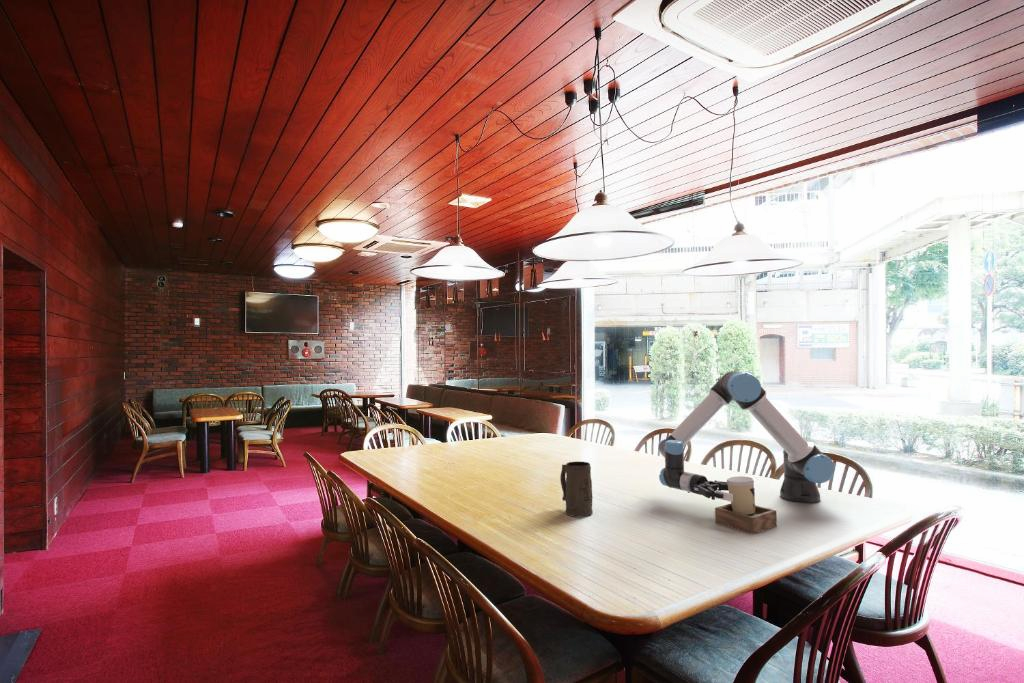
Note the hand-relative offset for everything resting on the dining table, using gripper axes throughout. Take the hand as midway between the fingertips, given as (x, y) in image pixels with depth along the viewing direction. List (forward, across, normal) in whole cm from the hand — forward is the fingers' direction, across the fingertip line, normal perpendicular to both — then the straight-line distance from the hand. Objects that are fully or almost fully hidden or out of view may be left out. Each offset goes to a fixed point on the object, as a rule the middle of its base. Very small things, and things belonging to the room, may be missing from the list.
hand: (743, 494), depth 192 cm
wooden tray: (0, 0, -11) cm, 11 cm away
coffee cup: (-2, -2, -7) cm, 8 cm away
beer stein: (-48, +40, -11) cm, 63 cm away
